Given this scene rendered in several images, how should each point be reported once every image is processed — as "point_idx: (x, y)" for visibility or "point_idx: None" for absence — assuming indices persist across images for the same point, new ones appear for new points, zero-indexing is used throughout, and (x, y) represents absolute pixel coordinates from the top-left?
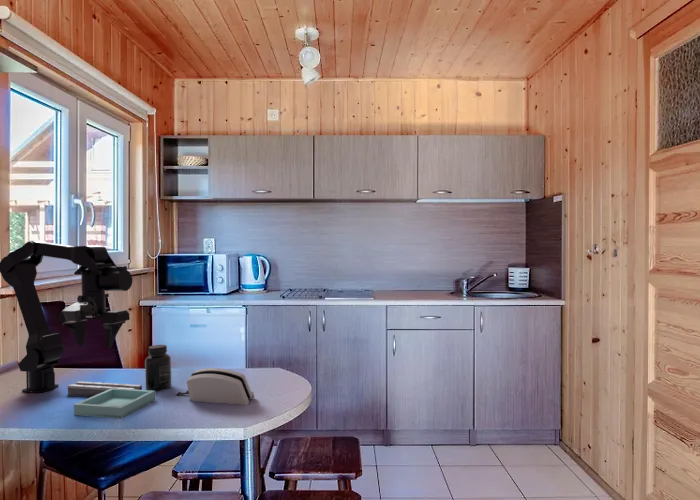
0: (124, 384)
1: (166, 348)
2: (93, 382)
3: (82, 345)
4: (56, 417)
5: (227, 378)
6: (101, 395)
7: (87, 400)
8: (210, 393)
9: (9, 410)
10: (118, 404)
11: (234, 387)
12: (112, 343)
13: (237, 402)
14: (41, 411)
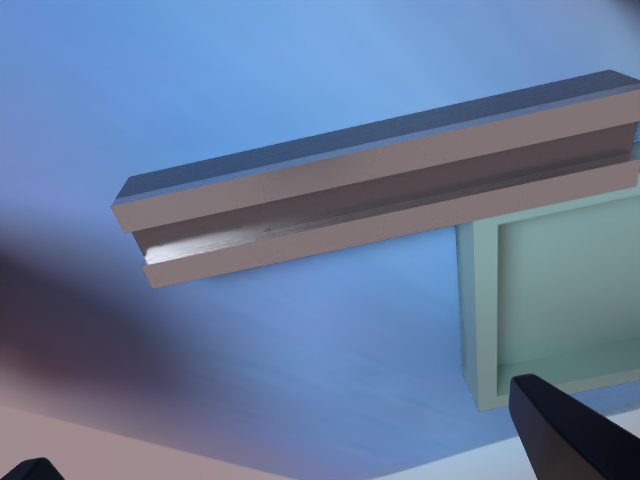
0: (509, 127)
1: None
2: (239, 183)
3: (47, 469)
4: (416, 407)
5: None
6: (495, 296)
7: (496, 369)
8: None
9: (162, 437)
10: (597, 267)
11: None
12: (575, 399)
13: None
14: (296, 401)
